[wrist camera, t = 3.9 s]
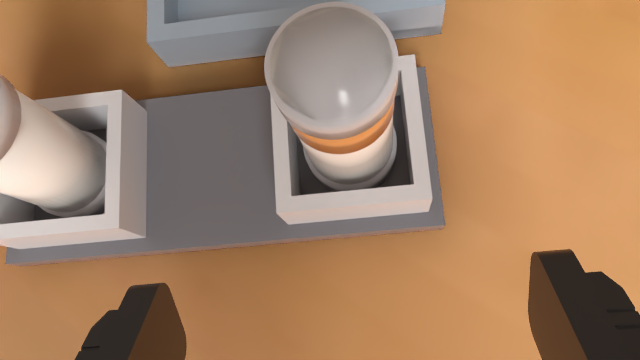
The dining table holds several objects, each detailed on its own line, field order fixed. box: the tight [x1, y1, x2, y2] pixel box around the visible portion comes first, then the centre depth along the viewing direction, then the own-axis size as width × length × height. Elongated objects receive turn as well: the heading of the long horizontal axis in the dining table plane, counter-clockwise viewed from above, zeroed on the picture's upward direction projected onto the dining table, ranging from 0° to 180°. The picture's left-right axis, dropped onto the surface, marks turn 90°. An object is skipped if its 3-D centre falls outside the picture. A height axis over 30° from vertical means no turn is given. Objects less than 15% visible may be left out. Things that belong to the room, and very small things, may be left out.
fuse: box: [0, 74, 107, 218], centre depth 21 cm, size 4×4×8 cm
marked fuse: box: [264, 2, 398, 192], centre depth 20 cm, size 4×4×8 cm
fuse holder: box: [0, 54, 445, 266], centre depth 24 cm, size 19×7×4 cm, turn 94°
